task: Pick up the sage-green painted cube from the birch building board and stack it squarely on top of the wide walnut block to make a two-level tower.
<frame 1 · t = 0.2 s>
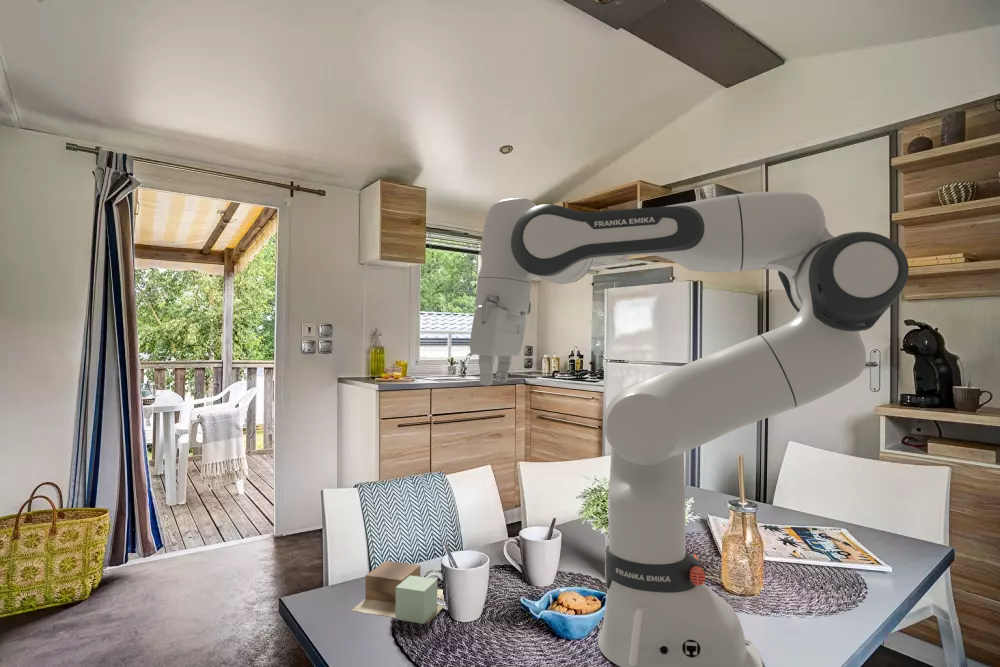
hand: (493, 383, 90), 38 cm above the table, tool pointing down, fingers open, 8 cm apart
walnut base: (393, 593, 97), point 1 cm above the table, touching birch board
sage cube: (416, 614, 89), point 1 cm above the table, touching birch board
birch board: (406, 606, 94), on the table
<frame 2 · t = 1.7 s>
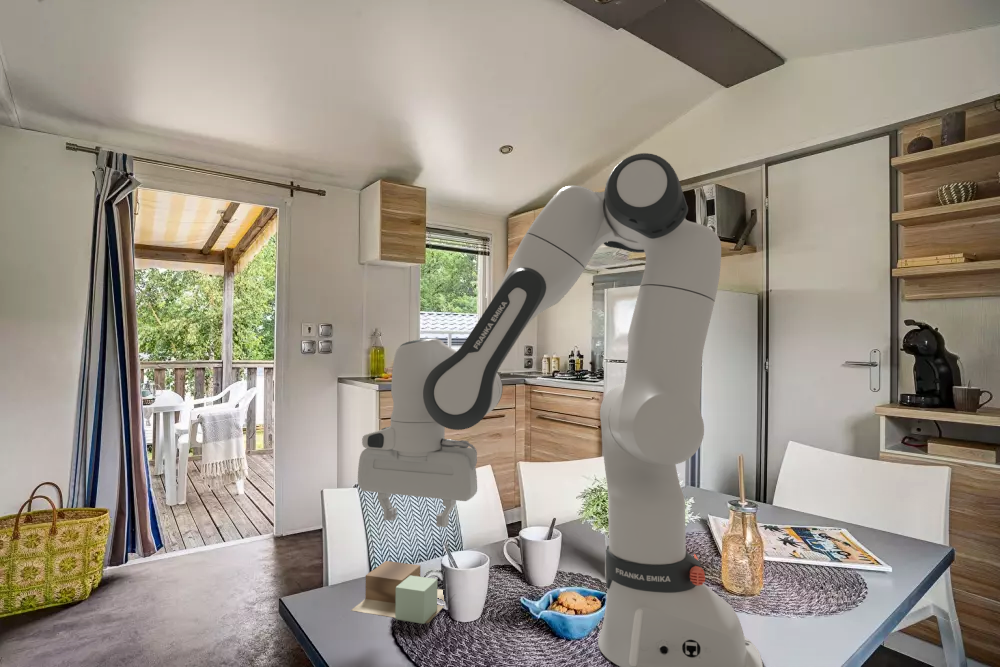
hand: (415, 522, 90), 16 cm above the table, tool pointing down, fingers open, 8 cm apart
nothing on the table moved.
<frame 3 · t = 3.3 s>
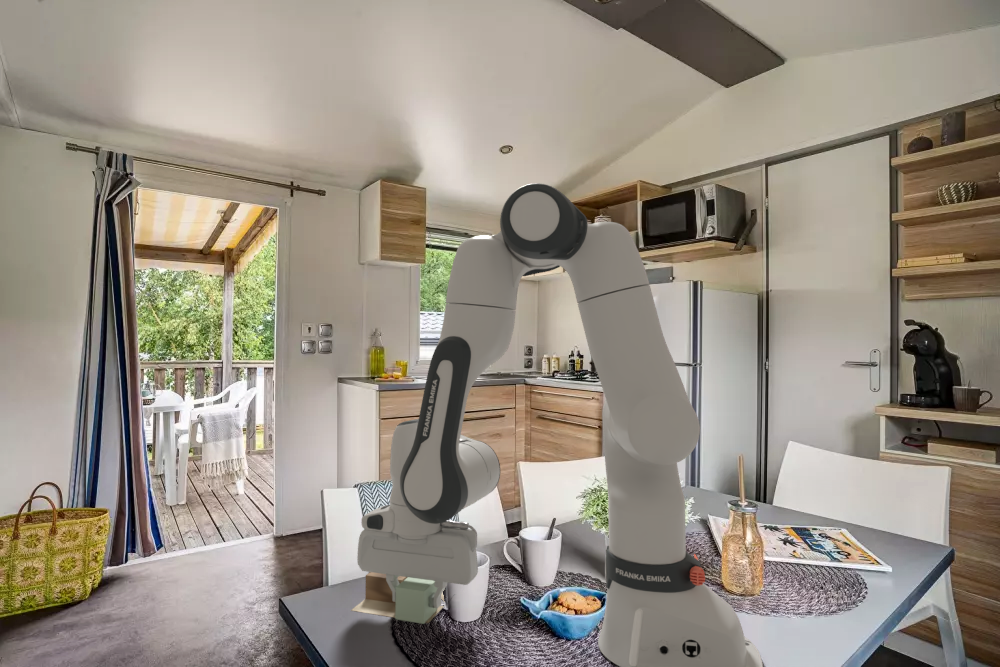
hand: (416, 603, 90), 3 cm above the table, tool pointing down, fingers closed on sage cube, 5 cm apart
sage cube: (416, 614, 89), point 1 cm above the table, touching birch board, gripper
everything else where it was.
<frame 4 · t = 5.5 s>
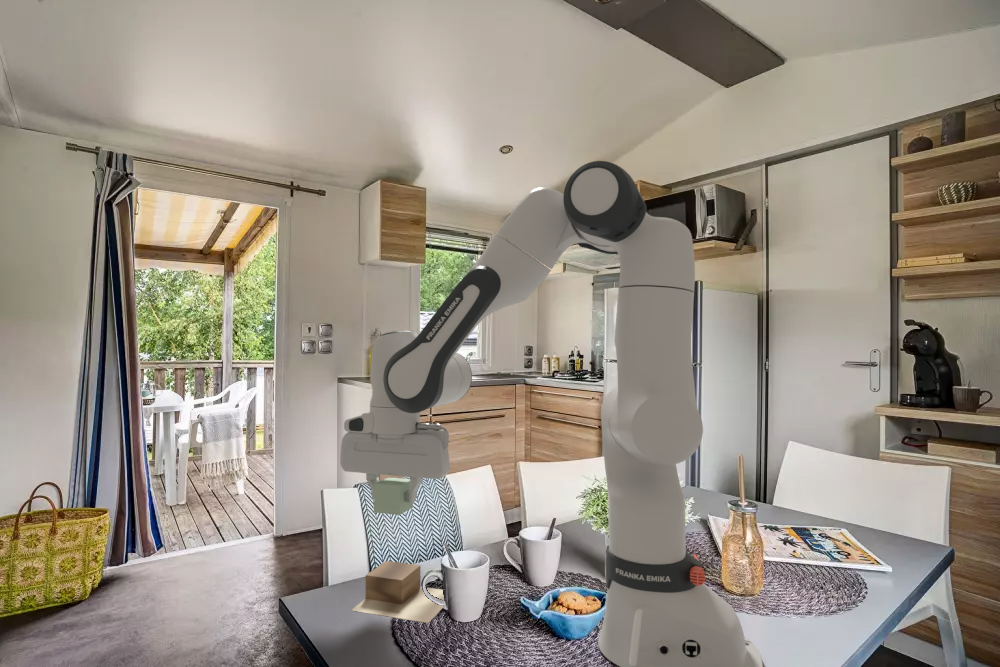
hand: (393, 500, 98), 17 cm above the table, tool pointing down, fingers closed on sage cube, 5 cm apart
sage cube: (393, 509, 98), point 16 cm above the table, touching gripper
everything else where it was.
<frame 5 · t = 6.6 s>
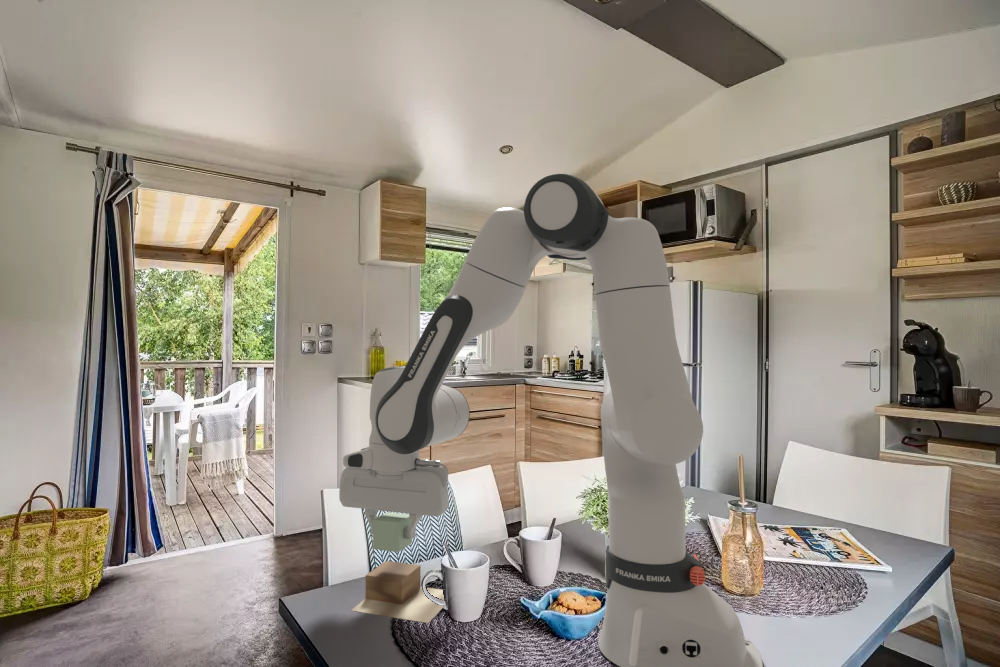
hand: (392, 536, 98), 11 cm above the table, tool pointing down, fingers closed on sage cube, 5 cm apart
sage cube: (392, 545, 98), point 9 cm above the table, touching gripper
everything else where it was.
when the fingers open (8 cm above the table, at t = 7.6 s): sage cube drops 1 cm, resting on walnut base.
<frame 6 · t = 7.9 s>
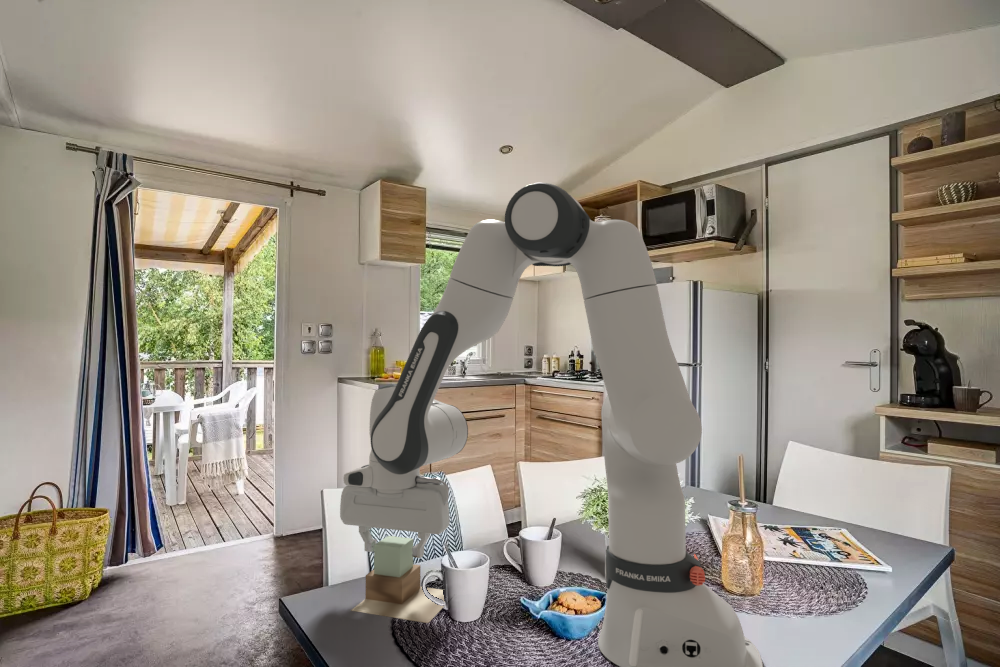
hand: (394, 553, 98), 8 cm above the table, tool pointing down, fingers open, 8 cm apart
walnut base: (393, 593, 97), point 1 cm above the table, touching birch board, sage cube
sage cube: (393, 570, 98), point 5 cm above the table, touching walnut base
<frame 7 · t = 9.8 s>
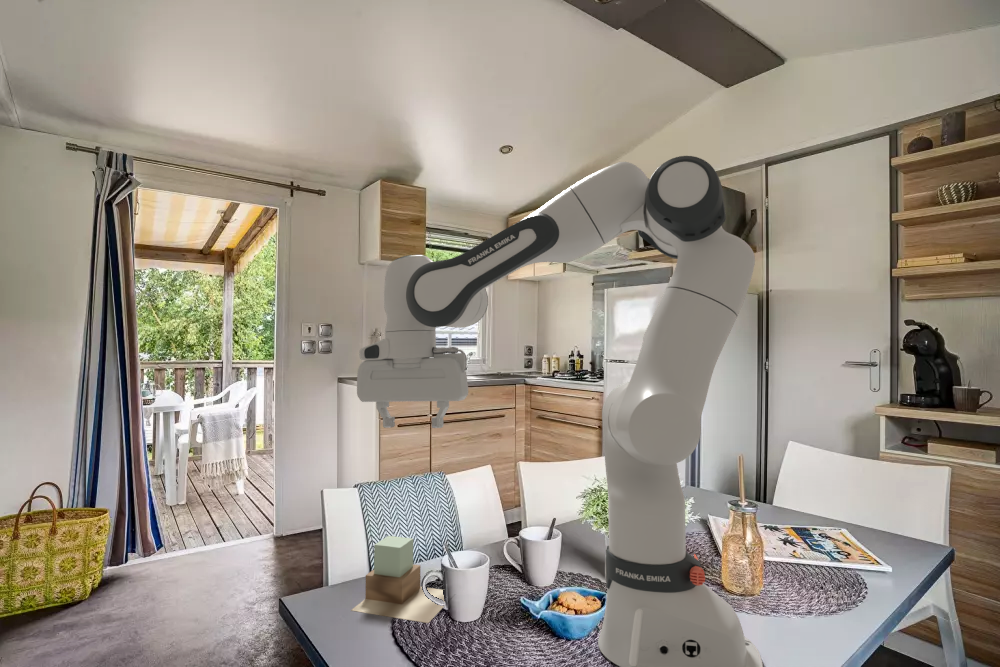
hand: (412, 427, 97), 30 cm above the table, tool pointing down, fingers open, 8 cm apart
nothing on the table moved.
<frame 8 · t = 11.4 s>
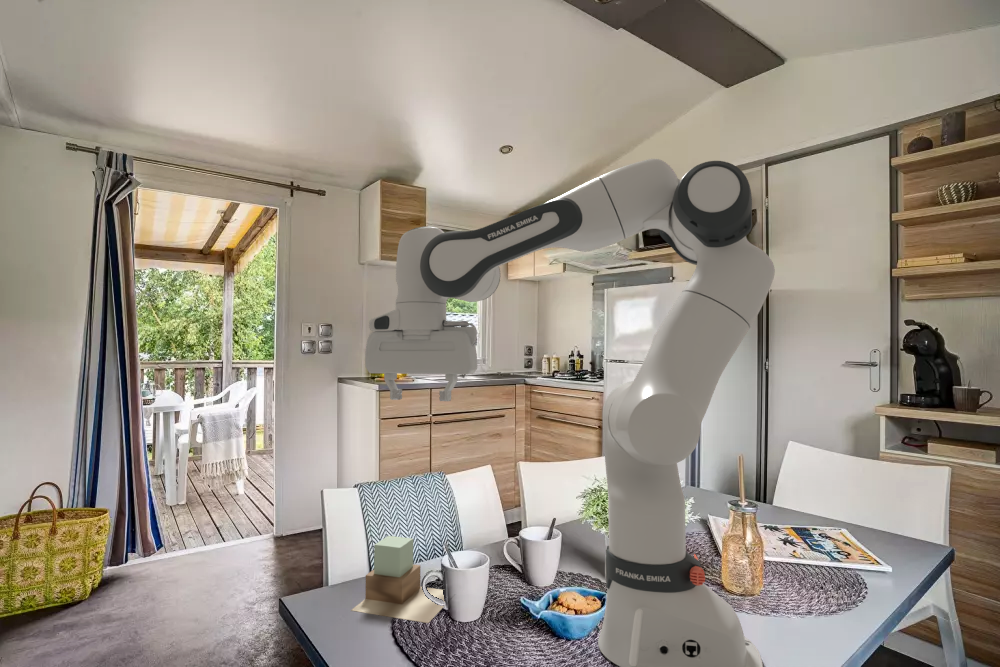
hand: (420, 400, 96), 35 cm above the table, tool pointing down, fingers open, 8 cm apart
nothing on the table moved.
at the end: sage cube 0.1 cm off-centre on the walnut base, point 4.0 cm above the walnut base's base; sage cube tilted 0°; walnut base moved 0.0 cm from its start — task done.
